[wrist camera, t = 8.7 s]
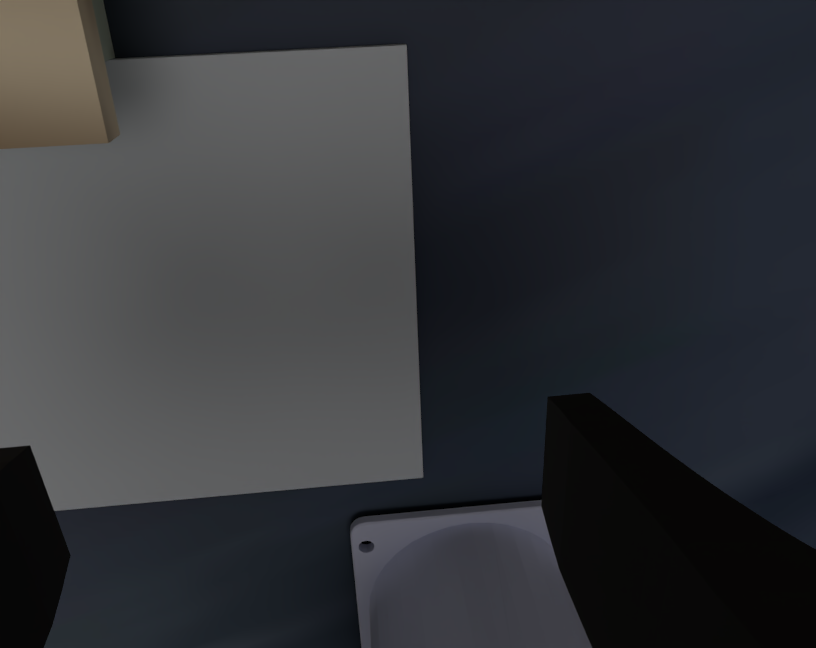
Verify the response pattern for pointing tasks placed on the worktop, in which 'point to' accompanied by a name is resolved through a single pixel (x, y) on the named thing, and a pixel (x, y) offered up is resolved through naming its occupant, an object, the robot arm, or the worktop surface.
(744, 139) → the worktop surface
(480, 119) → the worktop surface
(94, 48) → the lid
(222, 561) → the worktop surface
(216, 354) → the mat
